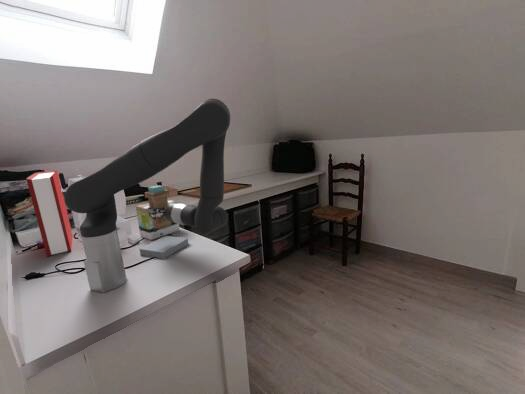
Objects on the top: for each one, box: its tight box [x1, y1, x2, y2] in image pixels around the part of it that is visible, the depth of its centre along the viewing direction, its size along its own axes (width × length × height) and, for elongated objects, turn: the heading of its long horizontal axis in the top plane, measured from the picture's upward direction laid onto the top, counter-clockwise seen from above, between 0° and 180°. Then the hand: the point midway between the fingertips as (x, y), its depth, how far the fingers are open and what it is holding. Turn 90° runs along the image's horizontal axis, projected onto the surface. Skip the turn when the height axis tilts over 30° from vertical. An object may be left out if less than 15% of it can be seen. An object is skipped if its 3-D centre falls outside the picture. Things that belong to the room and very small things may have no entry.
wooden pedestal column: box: [143, 189, 171, 229], centre depth 105 cm, size 6×6×14 cm
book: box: [25, 170, 73, 258], centre depth 118 cm, size 27×8×32 cm, turn 34°
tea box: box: [135, 199, 181, 241], centre depth 126 cm, size 15×10×15 cm
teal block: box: [147, 184, 165, 193], centre depth 103 cm, size 4×4×3 cm
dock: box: [139, 235, 189, 260], centre depth 108 cm, size 14×12×2 cm
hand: (155, 208), depth 106 cm, fingers closed on wooden pedestal column, 5 cm apart
